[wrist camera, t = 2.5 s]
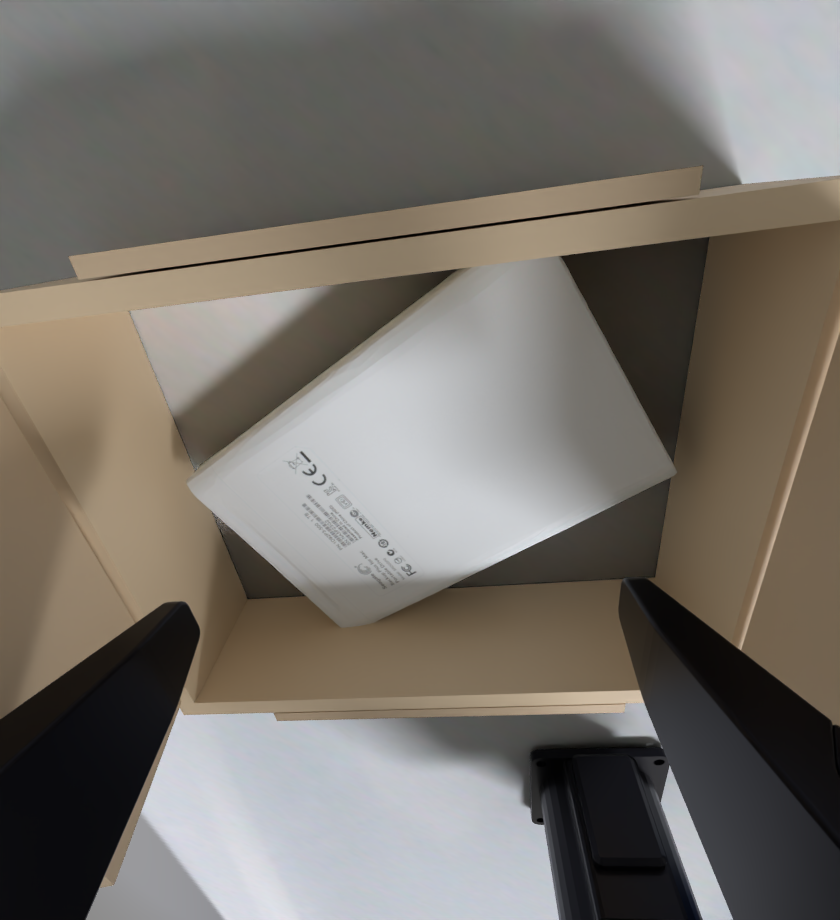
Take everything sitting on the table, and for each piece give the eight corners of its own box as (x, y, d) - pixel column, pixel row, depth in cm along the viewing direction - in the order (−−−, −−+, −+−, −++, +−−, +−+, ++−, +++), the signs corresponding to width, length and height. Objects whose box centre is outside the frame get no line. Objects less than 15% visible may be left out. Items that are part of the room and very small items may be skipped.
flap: (181, 701, 14) (168, 703, 14) (-22, 358, 9) (-43, 361, 9) (114, 885, 10) (95, 888, 10) (-316, 463, 5) (-354, 468, 5)
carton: (668, 596, 17) (732, 709, 13) (241, 618, 19) (188, 723, 15) (747, 162, 11) (920, 134, 7) (84, 256, 13) (-81, 278, 9)
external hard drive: (658, 451, 14) (358, 608, 18) (527, 213, 11) (202, 461, 15) (682, 478, 13) (351, 641, 17) (539, 213, 10) (178, 486, 14)
